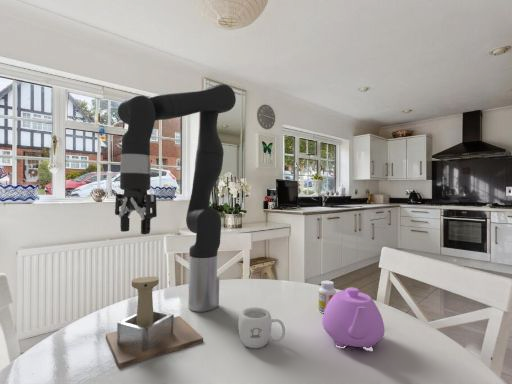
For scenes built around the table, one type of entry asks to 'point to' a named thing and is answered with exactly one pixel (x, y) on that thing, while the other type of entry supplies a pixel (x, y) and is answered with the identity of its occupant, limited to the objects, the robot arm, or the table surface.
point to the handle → (145, 299)
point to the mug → (257, 327)
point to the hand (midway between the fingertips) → (134, 232)
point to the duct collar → (145, 331)
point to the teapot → (353, 319)
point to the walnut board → (177, 340)
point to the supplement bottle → (325, 294)
